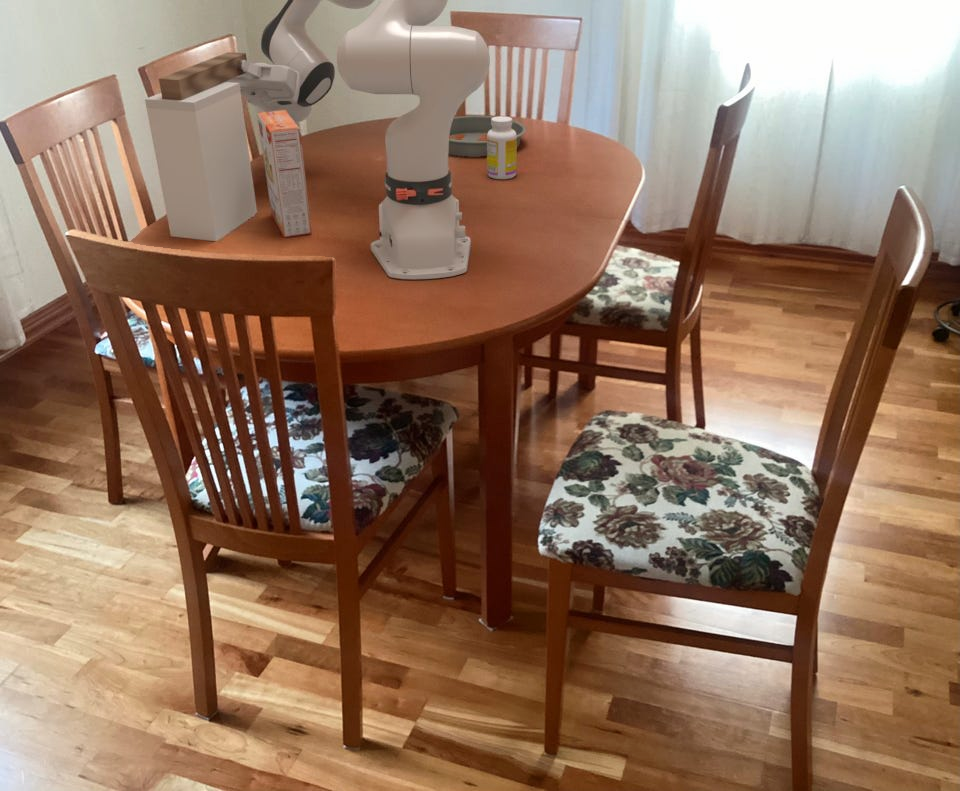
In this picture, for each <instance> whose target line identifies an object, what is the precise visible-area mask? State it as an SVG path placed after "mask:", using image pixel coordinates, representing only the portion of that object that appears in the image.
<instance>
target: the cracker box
mask: <svg viewBox="0 0 960 791" xmlns="http://www.w3.org/2000/svg"><path fill="white" fill-rule="evenodd" d="M257 121H258V127H259V136H260V141H261V148H262V156H263V164H264V169H265V177H266V184H267V191H268V198H269V204H270V211H271V212H270V213H271V215H272V217H273V220H274V221H275V223H276V225H277V227H278V229H279V231H280V232H281V234H282V236H283V238H290V237H291V236H292V237H297V236H298V237H299V236H303V235H304V236H305V235H311V234H312V233H313V230H312V223H311V222H312V221H311V215H310V206H309V205H310V204H309V200H308V199H309V198H308V190H307V188H308V187H307V181H306V180H307V179H306V172H305V163H304V154H303V145H302V144H303V143H302V138H301V137H302V135H301V128H300V127H299V126H298V123H295V122H294V120H293V119H292V118H291V117H290V115H289V114H288V113H287V112H286V110H280V111H268V112H265V111H262V112H258V113H257Z"/></svg>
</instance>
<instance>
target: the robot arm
mask: <svg viewBox="0 0 960 791" xmlns="http://www.w3.org/2000/svg"><path fill="white" fill-rule="evenodd" d="M327 1H329V2H330V3H333V4H334V5H336V6H338V7H342V8H345V9H350V10H351V9H352V10H359V9H363V8H367V7H369V6H370V5H372V4H374V3H375V1H376V0H327ZM321 2H322V0H287V2H285V4H284V5H283V7H282V8H281V10H280V11H279V13H277V15H276V16H275V17H274V18H273V19H272V20H271V21H270V22H269V23H268V24H267V25H266V26H265V28H263V29H264V30H263V31H262V34H261V39H260V40H261V41H260V48H261V52H262V54H263V55H264V56H265V57H266V58H267V59H268V60H270V62H271V63H272V64H268V63H267V62H256V63H252V62H248V60H247V61H246V60H238V65H237V68H238V69H239V70H240V71H243V72H246V73H244V74H242V75H240V76H237V77H235V78H233V79H230V80H228V81H226V82H231V83H239V84H240V91H241V97H242V98H243V99H244V100H245V102H247V103H249V104H250V105H252V106H254V107H255V108H257V109H258V110H260V111H262V112H268V111H280V110H286V112H287V113H288V114H289V115H290V117H291V118H292V119H293V120H294V122H295V123H296V124H298V123H301V122H303V121H304V120H306V118H308V116H309V115H310V113H311V110H312V106H313V105H315V104H317V103H318V102H320V101H321V100H322V99H323V98H324V97H325V96H327V94H328V93H329V92H330V90H331V89H332V86H333V85H334V84H333V83H334V79H335V75H336V71H335V70H336V69H335V65H334V63H332V62H331V60H330V58H328V56H327V55H326V54H325V53H324V52H323V51H322V50H321V49H320V48H319V46H318V45H317V44H316V43H315V41H314V40H313V39H312V38H311V37H310V36H309V34H308V33H307V30H306V23H307V21H308V19H309V18H310V17H311V15H312V14H313V13H314V11H315V10H316V8H317V7H318V6H319V5H320V3H321ZM448 2H449V1H448V0H379V1H378V3H377V5H376V6H375V8H374V9H373V11H372V12H371V13H370V14H369V16H367V17H366V19H364V20H363V21H362V22H361V23H359V24H357V25H356V26H355V27H353V28H351V29H350V30H348V31H347V32H346V33H345V34H344V35H343V37H342V38H341V40H340V42H339V44H338V48H337V51H336V65H337V69H338V72H339V75H340V77H341V79H342V81H343V82H344V84H346V86H347V87H348V88H349V89H351V90H353V91H358V92H363V93H368V94H372V95H413V96H417V97H418V98H419V104H418V105H417V106H416V107H415V108H413V109H412V110H410V111H408V112H405V113H404V114H402V115H400V116H398V117H397V118H396V119H394V120H393V121H392V122H391V123H390V124H389V125H388V126H387V129H386V131H385V137H384V138H385V139H384V140H385V141H384V142H385V155H386V156H385V158H386V172H385V175H384V187H385V194H386V196H385V197H384V199H383V200H382V201H381V203H378V204H379V205H378V217H379V223H378V225H379V239H377V240H375V241H373V242H371V243H370V251H371V252H372V253H373V255H374V257H375V258H376V260H377V261H378V262H379V264H380V266H381V267H382V268H383V270H384V272H385V273H386V275H387V276H388V277H390V278H394V279H400V280H433V279H441V278H448V277H449V278H450V277H454V276H458V275H461V274H464V273H467V271H468V266H469V258H470V252H471V248H472V246H471V245H472V240H471V237H470V236H467V235H466V226H465V225H460V221H462V220H463V212H461V211H460V201H459V199H457V197H455V196H454V195H453V194H452V193H453V190H452V189H453V187H452V186H453V180H452V174H451V170H449V154H448V150H449V135H450V129H451V125H452V121H453V119H454V117H456V114H457V112H458V110H459V109H460V107H461V106H462V104H463V103H464V102H465V100H467V99H468V97H470V96H471V95H472V94H473V93H475V92H476V91H477V90H478V89H479V88H480V87H481V86H482V85H483V84H484V82H485V80H486V79H487V76H488V74H489V71H490V64H491V63H490V62H491V61H490V60H491V56H490V52H489V47H488V45H487V43H486V41H485V39H484V37H483V36H482V35H481V34H480V33H479V32H478V31H477V30H473V29H468V28H465V27H460V26H454V25H429V24H430V23H433V22H434V21H435V20H437V19H438V18H439V17H440V16H441V15H442V13H443V12H444V9H445V8H446V6H447V4H448ZM204 61H205V60H201V61H200V62H199V63H201V62H204Z"/></svg>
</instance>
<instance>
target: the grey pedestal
mask: <svg viewBox="0 0 960 791" xmlns="http://www.w3.org/2000/svg"><path fill="white" fill-rule="evenodd" d="M242 98H243V97H242V94H241V91H240V84H239V83H231V82H223V83H221V84H219V85H216V86H214V87H212V88H209V89H207V90H205V91H202V92H200V93H198V94H196V95H193V96H191V97H189V98H186V99H184V100H170V99H162V94H161V92H159V93H157V94H155V95H152V96H149V97H146V98H144V103H145V106H146V112H147V117H148V123H149V129H150V133H151V138H152V143H153V150H154V154H155V159H156V165H157V171H158V175H159V182H160V185H161V190H162V197H163V201H164V206H165V213H166V218H167V222H168V227H169V228H168V229H169V232H170V237H176V238H184V239H192V240H201V241H209V242H210V241H211V242H218V241H219V240H221V239H223V238H224V237H225V236H228V234H230V233H231V232H232V231H234V230H235V229H237V228H238V227H240V226H242V225H243V224H244V223H246V222H247V221H249V220H250V219H252V218H253V217H254V216H256V215H257V214H258V210H257V209H258V208H257V202H256V201H257V200H256V194H255V187H254V180H253V174H252V167H251V166H252V165H251V158H250V150H249V145H248V144H249V143H248V136H247V128H246V121H245V116H244V115H245V114H244V107H243V99H242ZM256 213H257V214H256ZM255 214H256V215H255ZM251 217H252V218H251ZM248 219H249V220H248Z"/></svg>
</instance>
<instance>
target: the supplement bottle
mask: <svg viewBox="0 0 960 791" xmlns="http://www.w3.org/2000/svg"><path fill="white" fill-rule="evenodd" d="M512 120H513V118H512V117H511V116H501V115H500V116H493V118H492V119H491V125H492V129H491V130H489V132H488V133H487V157H486V164H487V165H486V166H487V168H486V171H487V176H488V177H489V178H491V179H493V180H508V179H513V178H514V177H515V176H516V175H517V161H518V160H517V157H518V156H517V153H518V151H517V149H518V148H517V135H516V132H515V131H514V130H513V129H511V126H512Z"/></svg>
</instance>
